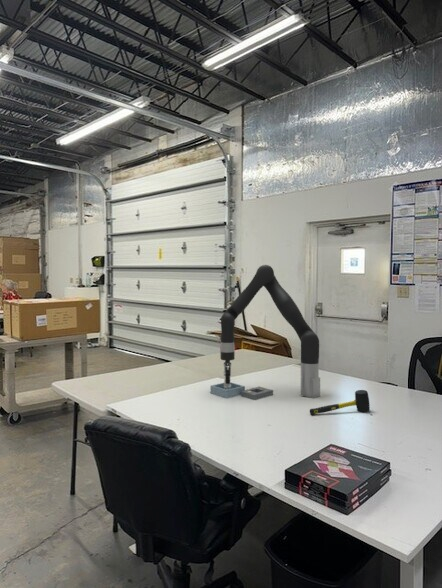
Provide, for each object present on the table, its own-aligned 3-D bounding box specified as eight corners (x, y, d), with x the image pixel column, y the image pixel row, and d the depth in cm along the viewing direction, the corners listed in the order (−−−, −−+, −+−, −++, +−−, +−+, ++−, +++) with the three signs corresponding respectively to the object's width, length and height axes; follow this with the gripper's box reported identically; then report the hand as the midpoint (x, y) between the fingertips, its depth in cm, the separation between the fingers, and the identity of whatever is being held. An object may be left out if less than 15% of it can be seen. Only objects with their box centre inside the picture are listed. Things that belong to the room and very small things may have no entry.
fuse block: (273, 394, 216) (273, 389, 216) (254, 400, 207) (254, 394, 207) (259, 391, 224) (259, 385, 224) (240, 395, 215) (240, 390, 215)
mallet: (313, 417, 181) (313, 396, 181) (307, 413, 187) (307, 392, 186) (372, 412, 187) (372, 391, 187) (364, 408, 193) (365, 388, 193)
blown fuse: (232, 388, 219) (232, 371, 219) (227, 389, 217) (227, 372, 216) (227, 387, 222) (227, 370, 222) (222, 388, 219) (222, 371, 219)
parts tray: (244, 393, 219) (244, 386, 219) (226, 398, 210) (226, 390, 210) (228, 388, 229) (228, 381, 228) (210, 393, 220) (210, 385, 220)
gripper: (235, 352, 212) (235, 386, 212) (233, 348, 226) (233, 379, 226) (220, 353, 211) (220, 386, 212) (220, 348, 226) (220, 379, 226)
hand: (227, 382), depth 219 cm, fingers closed on blown fuse, 3 cm apart
